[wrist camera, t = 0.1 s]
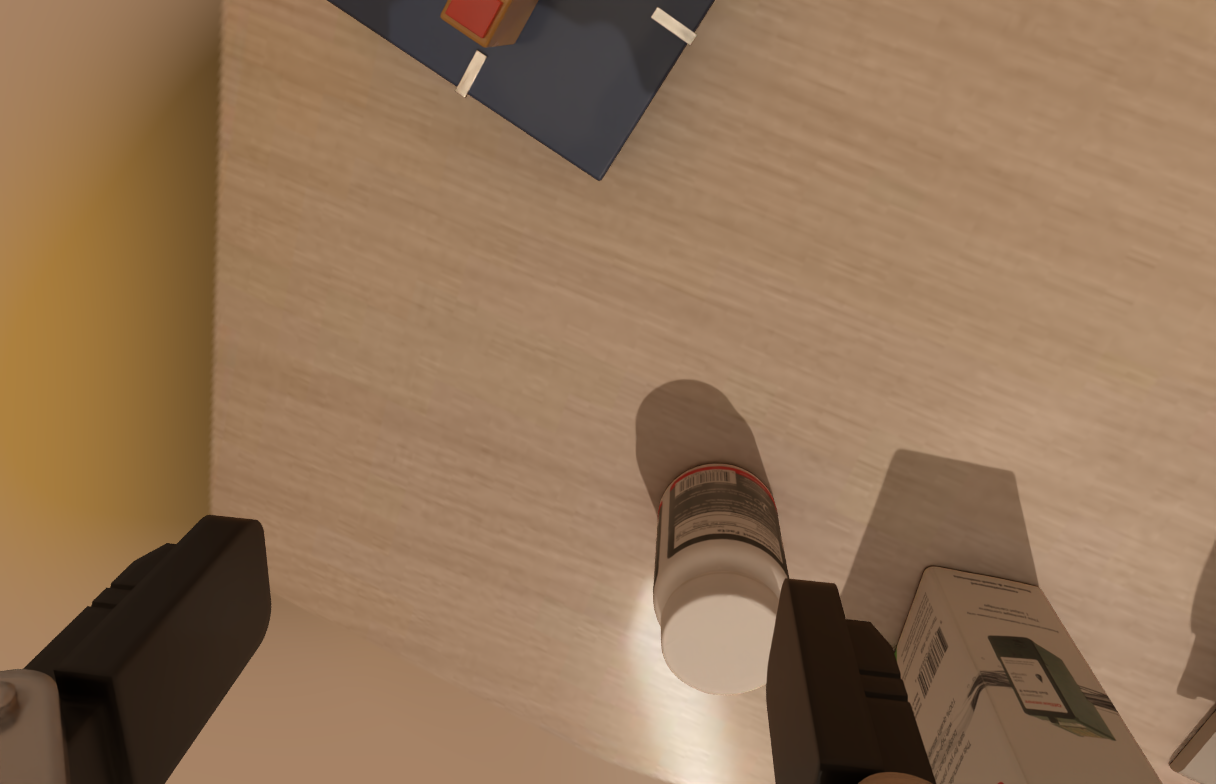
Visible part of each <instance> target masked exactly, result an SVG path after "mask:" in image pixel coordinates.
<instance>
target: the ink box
mask: <svg viewBox="0 0 1216 784" xmlns="http://www.w3.org/2000/svg"><path fill="white" fill-rule="evenodd" d="M894 654H895V657H896V661H897V664H898V667H899V670H900V673H901V679H903V682H904V685H905V688H906V691H907V694H908V702H910V704H911V707H912V710H913V713H914V716H915V719H916V722H917V725H918V728H919V732H920V735H921V738H922V741H923V744H924V747H925V750H926V753H927V756H928V759H929V762H930V765H931V769H932V772H933V775H934V778H935V781H936V784H1162V782H1161V780H1160V779H1159V777H1158V776H1157V774H1156V772H1155V771H1154V769H1153V768H1152V766H1151V764H1150V763H1149V761H1148V760H1147V758H1146V756H1145V755H1144V753H1143V752H1142V750H1141V748H1140V747H1139V745H1138V744H1137V742H1136V741H1135V739H1134V737H1133V736H1132V734H1131V733H1130V731H1129V729H1128V728H1127V726H1126V724H1125V723H1124V721H1123V720H1122V718H1121V716H1120V715H1119V713H1118V711H1117V710H1116V708H1115V707H1114V705H1113V703H1112V702H1111V700H1110V699H1109V697H1108V696H1107V694H1106V693H1105V691H1104V689H1103V688H1102V686H1101V685H1100V683H1099V681H1098V680H1097V678H1096V677H1095V675H1094V673H1093V672H1092V670H1091V668H1090V667H1089V665H1088V664H1087V662H1086V661H1085V659H1084V657H1083V656H1082V654H1081V653H1080V651H1079V650H1078V648H1077V646H1076V645H1075V643H1074V641H1073V640H1072V638H1071V637H1070V635H1069V633H1068V632H1067V630H1066V628H1065V627H1064V625H1063V624H1062V622H1061V621H1060V619H1059V617H1058V616H1057V614H1056V612H1055V611H1054V609H1053V608H1052V606H1051V604H1050V603H1049V601H1048V600H1047V598H1046V596H1045V595H1044V593H1043V591H1042V590H1041V589H1040V588H1039V587H1036V586H1032V585H1027V584H1023V583H1019V582H1014V581H1010V580H1005V579H1000V578H995V577H990V576H985V575H979V574H973V573H967V572H962V571H957V570H952V569H946V568H941V567H937V566H936V567H928V568H927V569H925V571H924V573H923V576H922V579H921V582H920V584H919V587H918V590H917V593H916V595H915V598H914V601H913V604H912V606H911V609H910V612H909V614H908V617H907V620H906V623H905V626H904V628H903V631H902V634H901V637H900V639H899V642H898V645H897V648H896V651H895V653H894Z"/></svg>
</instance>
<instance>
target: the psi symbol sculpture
mask: <svg viewBox="0 0 1216 784" xmlns="http://www.w3.org/2000/svg"><path fill="white" fill-rule="evenodd" d="M1169 766H1170V768H1171V769H1172V770H1173V771H1175V772H1177V773H1179V774H1181V775H1183V776H1185V777H1187V778H1189V779H1191V780H1194V781H1196V782H1198V783H1201V784H1216V711H1215V712H1214V713H1213V714H1212V715H1211V717H1210V718H1209V719H1208V720H1207V721H1206V723H1205V724H1204V725H1203V726H1202V727H1201V729H1200V730H1199V731H1198V732H1197V733H1196V735H1195V736H1194V737H1193V738H1192V739H1191V740H1190V742H1189V743H1188V744H1187V745H1186V746H1185V748H1184V749H1183V750H1182V751H1181V752H1180V754H1179V755H1178V756H1177V757H1176V758H1175V759H1174V761H1173V762H1172V763H1171V764H1170V765H1169Z"/></svg>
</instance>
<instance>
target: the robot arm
mask: <svg viewBox="0 0 1216 784" xmlns="http://www.w3.org/2000/svg"><path fill="white" fill-rule="evenodd" d="M270 614H271V596H270V586H269V576H268V567H267V557H266V547H265V537H264V531H263V527H262V525H261V523H260V522H259V521H258V520H253V519H244V518H234V517H225V516H216V515H207V516H205V517H203V518H202V519H201V520H200V521H199V522H198V523H197V524H196V525H195V526H194V527H193V528H192V529H191V530H190V531H189V532H188V533H187V534H186V535H185V536H184V537H183V538H182V539H181V540H180V541H179V542H178V543H177V544H170V543H166V544H165V545H163V546H161V547H159V548H157V549H155V550H154V551H152V552H150V553H148V554H146V555H145V556H143V557H141V558H139V559H137V560H135V561H134V562H133V563H132V564H130V565H129V566H128V567H127V568H126V569H125V570H124V571H123V572H122V573H121V574H120V575H119V576H118V577H117V578H116V579H115V580H114V581H113V582H112V583H111V587H110V588H106V589H105V590H104V591H103V592H102V593H101V594H100V595H99V596H98V597H97V598H96V599H94V601H93V602H92V606H91V607H89V606H87V607H86V608H85V609H84V610H83V611H82V612H81V613H80V614H79V615H78V616H77V617H76V618H75V619H74V620H73V621H72V622H71V623H70V624H69V625H68V626H67V627H66V628H65V629H64V630H63V631H62V632H61V633H59V635H57V636H56V637H55V638H54V639H53V640H52V641H51V642H50V643H49V644H48V645H47V646H46V647H45V648H44V649H43V650H42V651H41V652H40V653H39V654H38V655H37V656H36V657H35V658H34V659H33V660H32V661H31V662H30V663H29V664H28V665H27V666H26V667H25V668H24V669H15V670H6V671H0V784H165V782H166V781H167V780H168V778H169V777H170V775H171V774H172V772H173V771H174V769H175V768H176V766H177V765H178V764H179V762H180V761H181V759H182V758H183V756H184V755H185V753H186V752H187V750H188V749H189V748H190V746H191V745H192V743H193V742H194V740H195V739H196V737H197V736H198V734H199V733H200V732H201V730H202V729H203V727H204V726H205V724H206V723H207V721H208V720H209V718H210V717H211V716H212V714H213V713H214V711H215V710H216V708H217V707H218V705H219V704H220V702H221V701H222V699H223V698H224V697H225V695H226V694H227V692H228V691H229V689H230V688H231V687H232V685H233V684H234V682H235V681H236V679H237V678H238V676H239V675H240V673H241V672H242V670H243V669H244V667H245V666H246V665H247V663H248V662H249V660H250V659H251V657H252V656H253V655H254V653H255V652H256V650H257V649H258V647H259V646H260V644H261V642H262V641H263V638H264V636H265V634H266V631H267V628H268V625H269V620H270ZM766 700H767V711H768V720H769V729H770V737H771V746H772V755H773V764H774V773H775V782H776V784H936V781H935V778H934V775H933V772H932V769H931V765H930V762H929V759H928V756H927V753H926V750H925V747H924V744H923V741H922V738H921V735H920V732H919V728H918V725H917V722H916V719H915V716H914V713H913V710H912V707H911V704H910V702H908V694H907V691H906V688H905V685H904V682H903V679H901V673H900V670H899V667H898V664H897V661H896V657H895V654H894V651H893V648H892V646H891V645H890V644H889V643H888V642H887V641H886V639H885V638H884V637H883V636H882V635H881V634H880V633H879V631H878V630H877V629H876V628H875V627H874V626H873V625H872V623H871V622H867V621H858V620H849V619H845V615H844V611H843V607H842V604H841V600H840V596H839V592H838V589H837V586H836V584H834V583H825V582H815V581H806V580H797V579H788V578H785V579H784V581H783V584H782V588H781V593H780V598H779V604H778V609H777V615H776V620H775V626H774V632H773V637H772V643H771V648H770V654H769V660H768V667H767V681H766Z"/></svg>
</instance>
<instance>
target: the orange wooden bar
mask: <svg viewBox="0 0 1216 784" xmlns="http://www.w3.org/2000/svg"><path fill="white" fill-rule="evenodd" d="M537 2H538V0H447V2H446V4H445V6H444V8H443V10H442V12H441V15H440V17H441V19H442V20H444V21H445V22H447V23H448V24H450V25H451V26H453V27H454V28H456V29H457V30H459V31H460V32H462V33H463V34H464V35H466V36H467V37H469V38H470V39H472V40H473V41H475V42H476V43H478V44H479V45H481V46H482V47H485V48H488V47H495V46H503V45H511V44H514V43H515V42H516V40H517V39H518V37H519V35H520V33H521V31H522V30H523V28H524V26H525V24H526V22H527V20H528V19H529V17H530V15H531V13H532V11H533V10H534V8H535V6H536V4H537Z"/></svg>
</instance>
